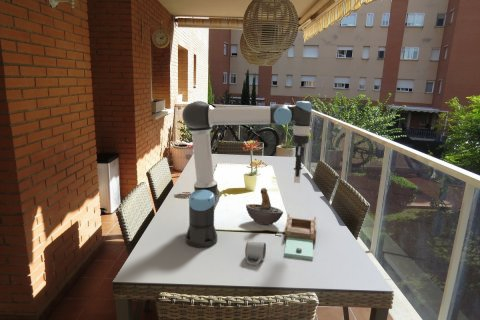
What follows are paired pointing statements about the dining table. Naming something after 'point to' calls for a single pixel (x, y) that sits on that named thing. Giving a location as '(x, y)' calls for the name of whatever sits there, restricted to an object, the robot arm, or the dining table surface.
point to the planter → (264, 210)
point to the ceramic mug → (255, 251)
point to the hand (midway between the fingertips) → (296, 182)
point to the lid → (299, 248)
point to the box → (300, 228)
